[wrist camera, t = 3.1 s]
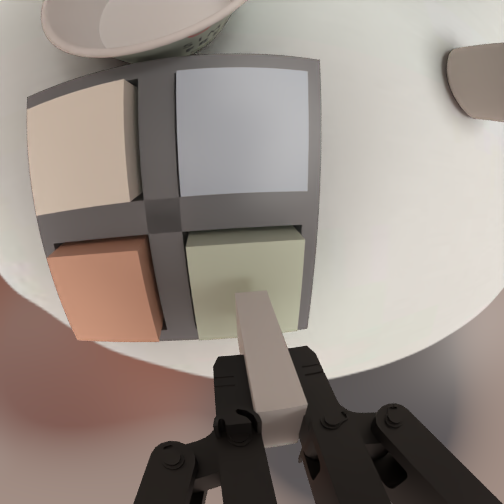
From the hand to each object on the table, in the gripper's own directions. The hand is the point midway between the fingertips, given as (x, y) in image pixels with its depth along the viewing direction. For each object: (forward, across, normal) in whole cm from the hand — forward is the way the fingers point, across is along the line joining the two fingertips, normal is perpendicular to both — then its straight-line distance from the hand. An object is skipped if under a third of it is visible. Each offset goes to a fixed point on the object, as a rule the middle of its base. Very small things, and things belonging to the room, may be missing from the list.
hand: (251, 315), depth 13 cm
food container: (+7, -5, +18) cm, 20 cm away
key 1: (+4, 0, 0) cm, 4 cm away
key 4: (+4, -8, +9) cm, 13 cm away
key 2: (+4, -8, 0) cm, 9 cm away
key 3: (+4, 0, +9) cm, 10 cm away
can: (+7, +22, +17) cm, 29 cm away
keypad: (+7, -4, +4) cm, 9 cm away
